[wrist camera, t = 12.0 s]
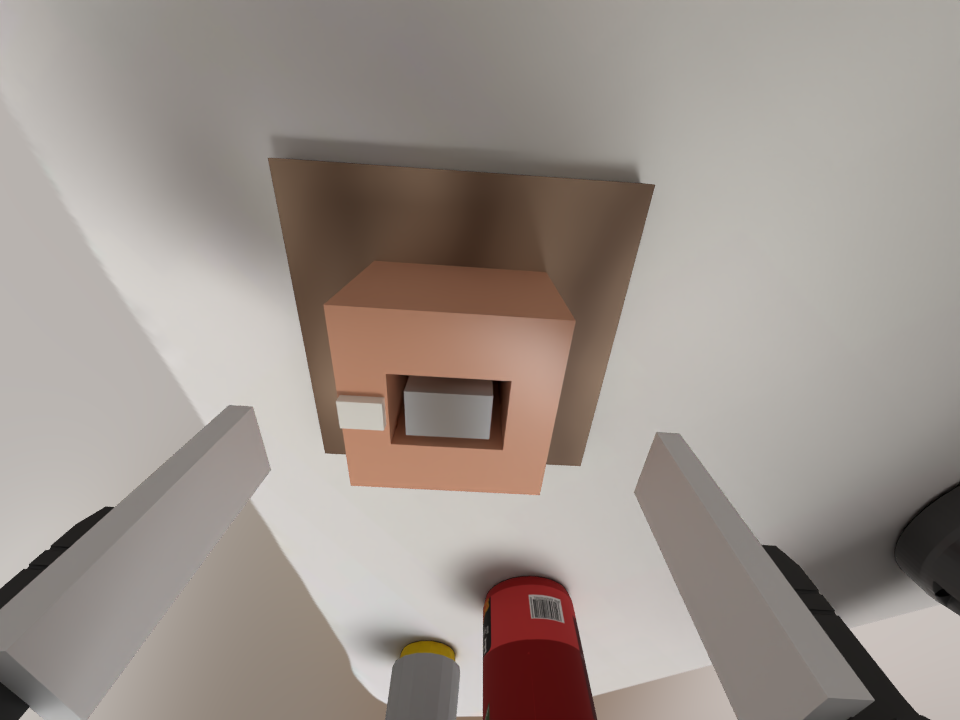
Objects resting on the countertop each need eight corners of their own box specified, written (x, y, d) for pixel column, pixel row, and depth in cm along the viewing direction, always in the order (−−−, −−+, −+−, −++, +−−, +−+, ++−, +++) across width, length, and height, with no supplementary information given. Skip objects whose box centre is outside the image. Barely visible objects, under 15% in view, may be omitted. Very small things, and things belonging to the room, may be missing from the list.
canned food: (468, 587, 32) (462, 772, 22) (553, 564, 30) (587, 753, 20) (503, 627, 35) (511, 804, 25) (582, 609, 33) (622, 790, 24)
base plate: (641, 183, 16) (750, 194, 10) (574, 449, 24) (610, 557, 17) (285, 158, 16) (145, 152, 9) (333, 437, 23) (275, 542, 17)
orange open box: (546, 272, 17) (578, 325, 11) (524, 410, 20) (540, 502, 15) (374, 260, 16) (318, 309, 11) (385, 402, 20) (347, 492, 15)
